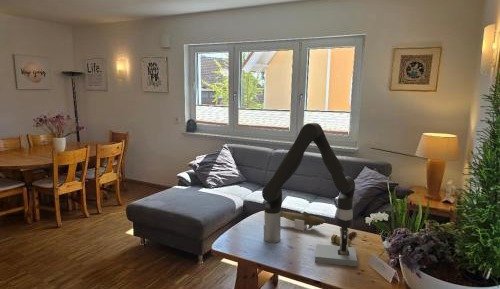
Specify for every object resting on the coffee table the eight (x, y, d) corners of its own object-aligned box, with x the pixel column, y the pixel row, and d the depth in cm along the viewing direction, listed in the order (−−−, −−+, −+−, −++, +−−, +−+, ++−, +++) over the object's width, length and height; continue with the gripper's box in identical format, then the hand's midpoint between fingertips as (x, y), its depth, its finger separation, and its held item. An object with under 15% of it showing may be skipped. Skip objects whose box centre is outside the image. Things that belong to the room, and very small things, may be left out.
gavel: (348, 226, 197) (364, 231, 190) (348, 233, 197) (363, 238, 190) (330, 235, 181) (347, 240, 175) (330, 243, 182) (346, 248, 175)
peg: (339, 257, 163) (340, 234, 161) (339, 253, 167) (339, 231, 165) (348, 258, 162) (349, 235, 160) (347, 253, 166) (348, 231, 164)
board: (315, 262, 161) (315, 256, 161) (315, 249, 175) (316, 243, 174) (356, 266, 156) (357, 260, 156) (354, 252, 170) (354, 247, 169)
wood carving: (275, 219, 216) (275, 204, 214) (326, 229, 199) (327, 212, 197) (269, 224, 208) (269, 208, 206) (322, 235, 191) (323, 217, 190)
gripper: (336, 211, 169) (335, 241, 171) (337, 221, 155) (336, 254, 158) (351, 212, 167) (350, 243, 170) (353, 222, 153) (352, 256, 156)
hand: (343, 248), depth 164 cm, fingers closed on peg, 4 cm apart
